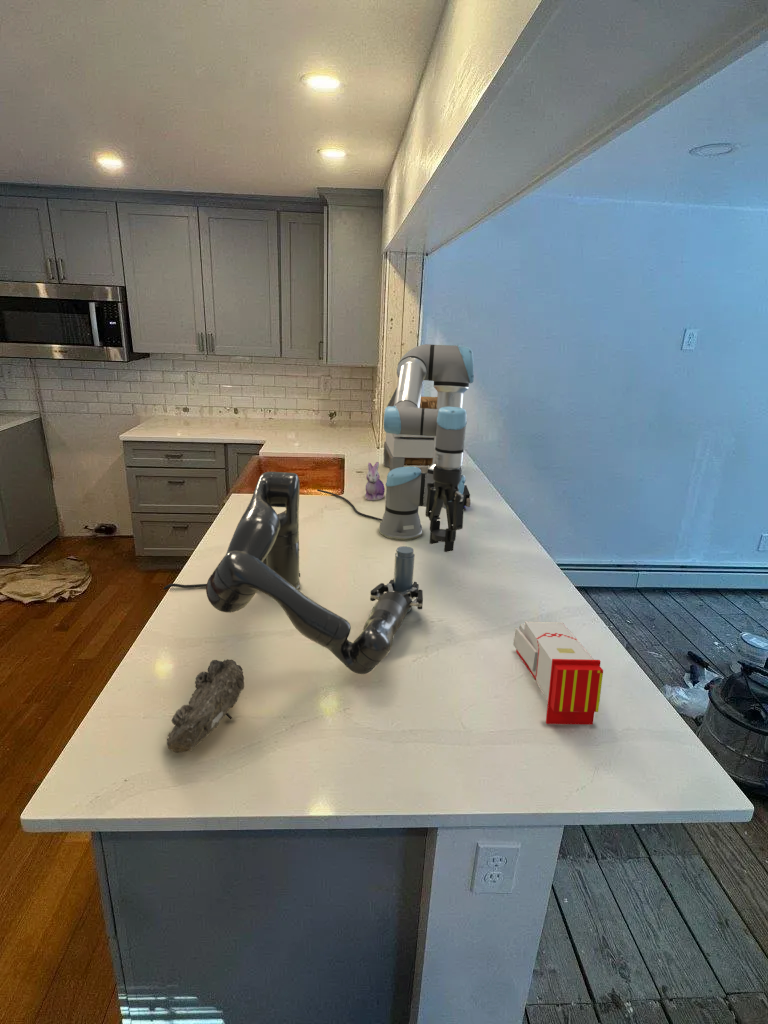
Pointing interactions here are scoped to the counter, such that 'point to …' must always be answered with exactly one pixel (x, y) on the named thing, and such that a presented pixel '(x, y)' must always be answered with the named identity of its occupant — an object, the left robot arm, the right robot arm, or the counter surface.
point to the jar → (403, 569)
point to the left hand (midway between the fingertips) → (405, 583)
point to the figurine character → (467, 499)
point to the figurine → (374, 483)
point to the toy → (561, 671)
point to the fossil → (206, 705)
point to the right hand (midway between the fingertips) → (441, 546)
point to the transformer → (409, 443)
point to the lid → (439, 535)
